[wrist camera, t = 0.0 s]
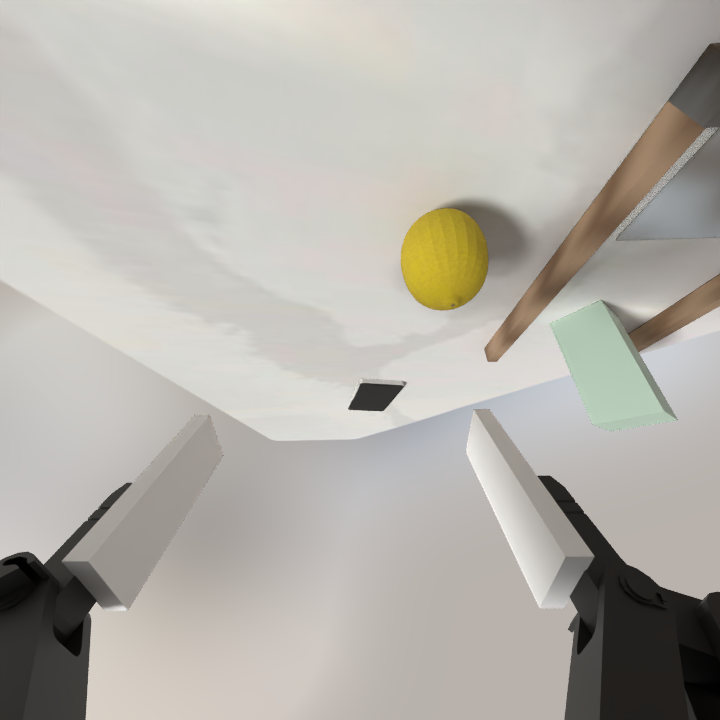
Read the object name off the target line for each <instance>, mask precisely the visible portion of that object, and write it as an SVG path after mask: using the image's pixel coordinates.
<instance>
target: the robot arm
mask: <svg viewBox="0 0 720 720" xmlns="http://www.w3.org/2000/svg"><path fill="white" fill-rule="evenodd" d="M466 453H467V455H468V457H469V460H470V462H471V464H472V466H473V468H474V470H475V472H476V474H477V477H478V479H479V481H480V483H481V485H482V487H483V489H484V491H485V494H486V496H487V498H488V500H489V502H490V504H491V506H492V508H493V511H494V513H495V515H496V517H497V519H498V521H499V523H500V526H501V528H502V530H503V532H504V534H505V536H506V538H507V540H508V543H509V544H510V547H511V549H512V551H513V553H514V555H515V557H516V559H517V562H518V564H519V566H520V568H521V570H522V572H523V574H524V576H525V579H526V581H527V583H528V585H529V587H530V589H531V591H532V593H533V596H534V598H535V600H536V602H537V604H538V606H539V608H564V607H565V606H566V604H567V602H568V601H569V599H570V598H571V600H572V602H573V604H574V606H575V607H576V609H577V611H578V613H577V614H576V616H575V617H574V619H573V621H572V622H571V624H570V626H569V628H568V630H569V631H571V632H573V631H574V638H573V647H572V656H571V665H570V674H569V684H568V692H567V702H566V712H565V720H720V592H714V593H709V594H708V595H707V596H706V597H705V598H704V599H703V600H700V599H697V598H694V597H691V596H687V595H684V594H681V593H678V592H674V591H671V590H668V589H665V588H662V587H660V586H659V585H658V584H656V583H655V582H654V581H653V580H652V579H651V578H650V577H649V576H647V575H646V574H644V573H643V572H641V571H640V570H638V569H636V568H634V567H632V566H629V565H627V564H626V563H625V562H624V561H623V560H622V559H621V558H620V557H619V555H618V554H617V553H616V552H615V550H614V549H613V548H612V547H611V545H610V544H609V543H608V541H607V540H606V539H605V538H604V537H603V535H602V534H601V533H600V531H599V530H598V529H597V527H596V526H595V525H594V524H593V522H592V521H591V520H590V519H589V517H588V516H587V515H586V514H584V511H583V510H582V509H581V507H580V506H579V505H578V503H575V500H574V498H573V497H572V496H571V495H570V493H569V492H568V491H567V490H566V488H565V487H564V486H562V485H561V484H560V483H559V482H557V481H556V480H555V479H554V478H552V477H551V476H537V475H536V474H535V472H534V471H533V469H532V468H531V467H530V465H529V464H528V463H527V461H526V460H525V458H524V457H523V456H522V454H521V453H520V451H519V450H518V449H517V447H516V446H515V444H514V443H513V442H512V440H511V439H510V438H509V436H508V435H507V433H506V432H505V430H504V429H503V428H502V426H501V425H500V423H499V422H498V421H497V419H496V418H495V416H494V415H493V414H492V412H491V411H490V409H474V410H473V416H472V421H471V426H470V432H469V437H468V442H467V448H466ZM222 457H223V453H222V450H221V447H220V444H219V441H218V438H217V435H216V432H215V429H214V426H213V423H212V420H211V417H210V415H194V416H193V418H192V419H191V420H190V421H189V422H188V423H187V424H186V425H185V427H184V428H183V429H182V430H181V431H180V432H179V433H178V434H177V435H176V436H175V437H174V438H173V439H172V441H171V442H170V443H169V444H168V445H167V446H166V447H165V448H164V449H163V450H162V452H161V453H160V454H159V455H158V456H157V457H156V458H155V459H154V460H153V461H152V462H151V464H150V465H149V466H148V467H147V468H146V469H145V470H144V471H143V472H142V473H141V475H140V476H139V477H138V478H137V479H136V480H135V481H134V482H133V483H126V484H125V485H123V486H122V487H121V488H119V489H118V490H116V491H115V492H114V493H112V494H111V495H110V496H109V497H108V498H107V499H106V500H105V501H104V502H103V503H102V504H101V506H100V507H99V509H98V510H96V511H95V512H94V513H93V514H92V515H91V516H90V517H89V518H88V521H85V522H84V523H83V524H82V525H81V527H79V528H78V530H76V532H75V533H74V534H73V535H72V536H71V537H70V538H69V539H68V540H67V541H66V542H65V543H64V544H63V545H62V546H61V547H60V549H58V551H57V552H55V554H54V555H53V556H52V557H51V558H50V559H49V560H48V561H47V562H46V563H45V564H44V565H43V564H42V563H41V562H40V561H39V560H38V559H37V557H36V556H35V555H34V554H32V553H29V552H22V553H17V554H14V555H11V556H9V557H6V558H4V559H2V560H0V720H85V718H86V701H87V684H88V667H89V649H90V634H91V633H90V632H91V618H90V614H89V613H88V612H89V611H90V610H91V608H92V607H93V605H94V604H95V603H96V602H97V603H98V604H99V605H100V606H101V607H102V608H103V609H104V610H105V611H127V610H129V608H130V607H131V605H132V603H133V602H134V600H135V598H136V597H137V595H138V594H139V592H140V590H141V589H142V587H143V585H144V584H145V582H146V581H147V579H148V577H149V576H150V574H151V572H152V571H153V569H154V568H155V566H156V564H157V563H158V561H159V560H160V558H161V556H162V555H163V553H164V551H165V550H166V548H167V547H168V545H169V543H170V542H171V540H172V538H173V537H174V535H175V534H176V532H177V530H178V529H179V527H180V526H181V524H182V522H183V521H184V519H185V517H186V516H187V514H188V512H189V511H190V509H191V508H192V506H193V504H194V503H195V501H196V500H197V498H198V496H199V495H200V493H201V491H202V490H203V488H204V486H205V485H206V483H207V482H208V480H209V479H210V477H211V475H212V474H213V472H214V470H215V469H216V467H217V465H218V464H219V462H220V461H221V459H222Z"/></svg>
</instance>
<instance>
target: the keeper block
mask: <svg viewBox="0 0 720 720" xmlns="http://www.w3.org/2000/svg"><path fill="white" fill-rule="evenodd" d="M550 326H551V328H552V330H553V333H554V335H555V337H556V340H557V342H558V344H559V347H560V349H561V352H562V354H563V356H564V359H565V361H566V363H567V366H568V368H569V370H570V373H571V375H572V377H573V380H574V382H575V384H576V387H577V389H578V391H579V394H580V396H581V398H582V401H583V403H584V405H585V408H586V410H587V412H588V415H589V417H590V419H591V422H592V424H593V425H595V426H598V427H601V428H603V429H606V430H609V431H615V430H622V429H628V428H634V427H640V426H646V425H652V424H657V423H663V422H670V421H676V420H678V419H677V418H676V416H675V414H674V413H673V411H672V409H671V407H670V406H669V404H668V403H667V401H666V399H665V397H664V395H663V394H662V392H661V390H660V388H659V387H658V385H657V384H656V382H655V380H654V378H653V376H652V375H651V373H650V371H649V370H648V368H647V366H646V364H645V363H644V361H643V359H642V358H641V356H640V354H639V352H638V351H637V349H636V347H635V346H634V344H633V342H632V340H631V339H630V337H629V335H628V334H627V332H626V330H625V328H624V327H623V325H622V323H621V322H620V320H619V318H618V316H617V315H616V314H615V313H614V312H613V311H612V310H611V309H610V308H609V307H608V306H607V305H606V304H605V303H604V302H603V301H602V300H600V301H598V302H596V303H593V304H591V305H589V306H587V307H585V308H582V309H580V310H578V311H576V312H574V313H572V314H569V315H567V316H565V317H563V318H561V319H559V320H556V321H554V322H552V323H550Z"/></svg>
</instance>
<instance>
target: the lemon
mask: <svg viewBox="0 0 720 720" xmlns="http://www.w3.org/2000/svg"><path fill="white" fill-rule="evenodd" d="M401 269H402V273H403V277H404V280H405V283H406V285H407V287H408V289H409V291H410V293H411V294H412V295H413V297H414V298H415V299H416V300H417V301H418V302H419V303H421V304H422V305H424V306H426V307H428V308H431V309H435V310H451V309H455V308H458V307H460V306H462V305H464V304H466V303H467V302H469V301H470V300H471V299H473V297H474V296H475V295H476V294H477V293H478V292H479V291H480V289H481V287H482V286H483V284H484V282H485V278H486V275H487V270H488V250H487V243H486V239H485V237H484V234H483V233H482V231H481V229H480V227H479V226H478V224H477V223H476V221H475V220H473V219H472V218H471V217H470V216H469V215H467V214H466V213H464V212H462V211H459V210H457V209H451V208H442V209H436V210H433V211H431V212H428V213H426V214H425V215H423V216H422V217H420V218H419V219H418V220H417V221H416V222H415V223H414V224H413V225H412V226H411V228H410V229H409V231H408V232H407V234H406V236H405V239H404V242H403V245H402V250H401Z"/></svg>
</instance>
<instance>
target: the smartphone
mask: <svg viewBox="0 0 720 720" xmlns="http://www.w3.org/2000/svg"><path fill="white" fill-rule="evenodd" d="M403 387H404V382H403V381H395V380H378V379H359V381H358V382H357V384H356V386H355V389H354V393H353V396H352V398H351V401H350V403H349V406H348V409H349V410H365V411H384V410H385V408H386V407H387V406H388V405H389V404H390V402H391V401H392V400H393V399H394V398H395V397H396V395H397V394H398V393H399V392H400V391H401V389H402V388H403Z"/></svg>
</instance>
